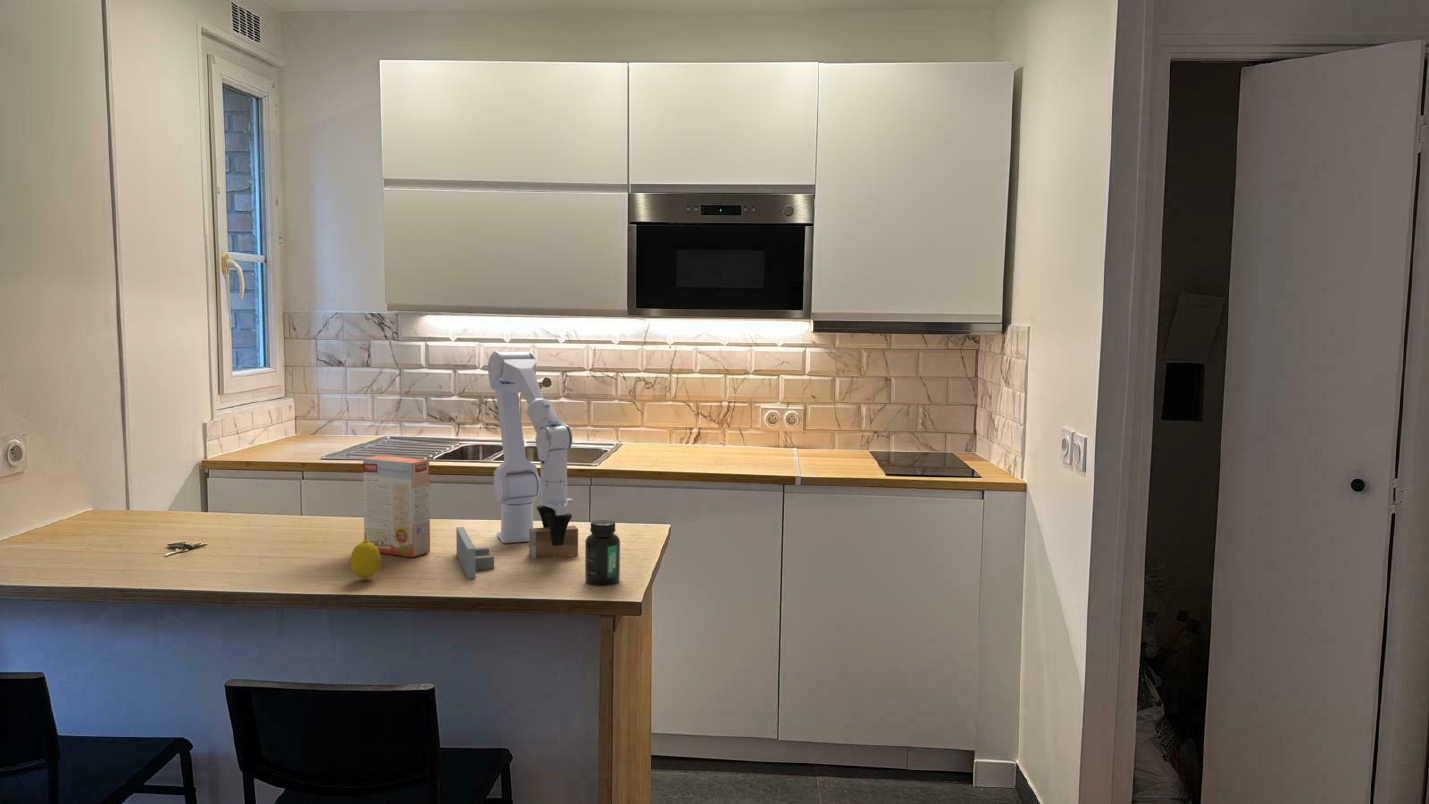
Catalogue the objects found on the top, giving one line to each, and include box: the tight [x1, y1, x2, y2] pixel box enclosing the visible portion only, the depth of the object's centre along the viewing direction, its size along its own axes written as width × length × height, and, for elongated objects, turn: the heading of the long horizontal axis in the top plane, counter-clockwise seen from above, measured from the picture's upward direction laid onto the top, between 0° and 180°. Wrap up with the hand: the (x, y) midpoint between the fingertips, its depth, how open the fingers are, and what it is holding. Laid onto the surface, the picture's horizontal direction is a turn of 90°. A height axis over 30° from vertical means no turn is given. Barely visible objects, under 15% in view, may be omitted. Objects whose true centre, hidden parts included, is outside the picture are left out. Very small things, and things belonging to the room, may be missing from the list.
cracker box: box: [362, 455, 431, 558], centre depth 206 cm, size 14×6×21 cm, turn 65°
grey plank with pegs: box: [455, 526, 495, 579], centre depth 198 cm, size 20×6×6 cm, turn 22°
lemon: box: [350, 539, 381, 581], centre depth 185 cm, size 6×6×8 cm
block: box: [528, 525, 579, 560], centre depth 207 cm, size 4×10×6 cm, turn 112°
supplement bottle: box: [584, 519, 621, 587], centre depth 187 cm, size 7×7×12 cm
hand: (553, 541), depth 206 cm, fingers open, 7 cm apart
